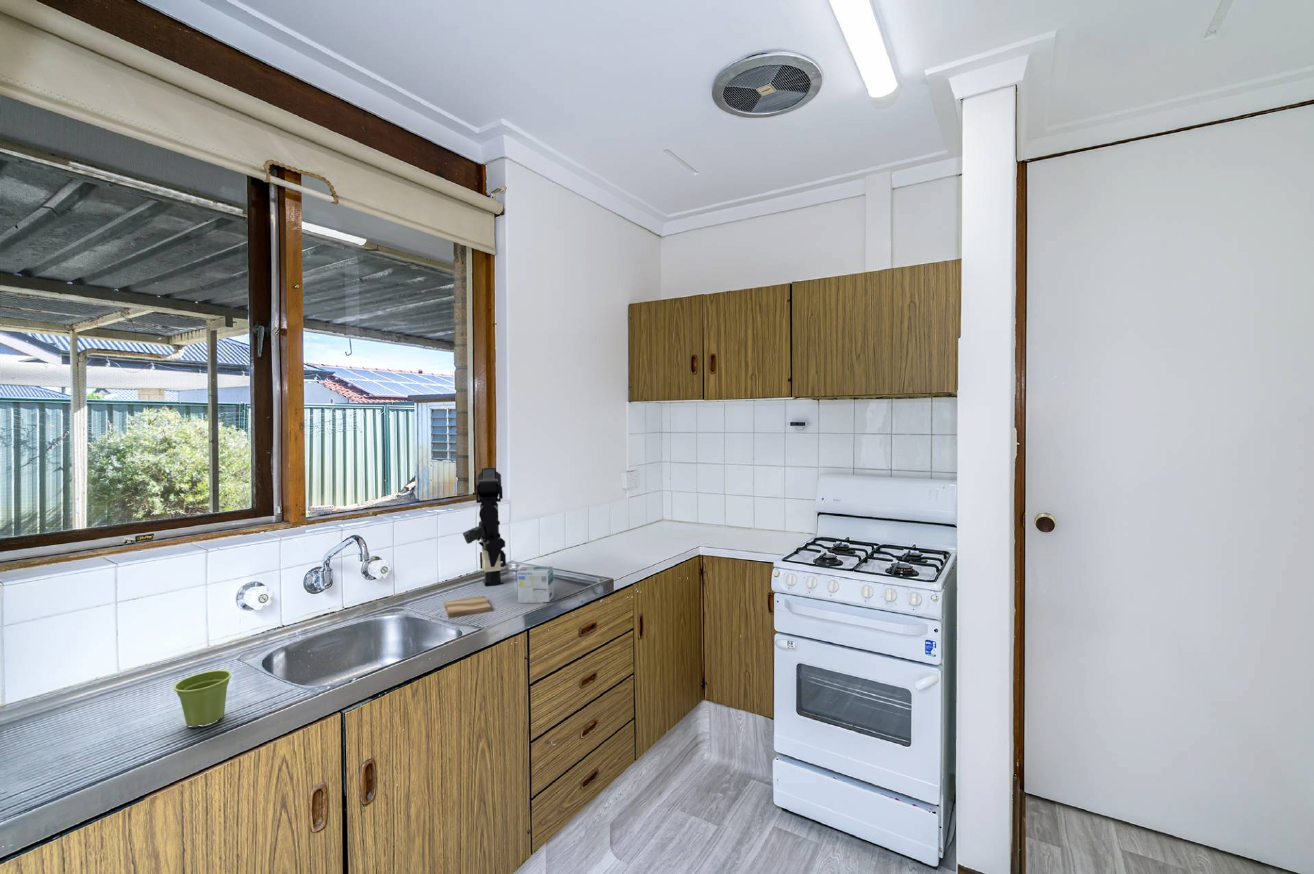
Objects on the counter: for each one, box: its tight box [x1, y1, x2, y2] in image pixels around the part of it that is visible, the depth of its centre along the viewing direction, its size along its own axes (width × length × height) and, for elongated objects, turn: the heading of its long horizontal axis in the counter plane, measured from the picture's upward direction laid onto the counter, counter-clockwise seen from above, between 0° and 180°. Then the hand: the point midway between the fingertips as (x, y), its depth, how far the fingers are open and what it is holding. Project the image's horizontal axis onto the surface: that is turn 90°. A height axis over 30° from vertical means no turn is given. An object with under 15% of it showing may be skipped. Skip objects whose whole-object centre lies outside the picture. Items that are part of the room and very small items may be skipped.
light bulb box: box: [516, 565, 555, 604], centre depth 196 cm, size 11×7×11 cm, turn 87°
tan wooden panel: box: [443, 595, 493, 619], centre depth 189 cm, size 13×13×2 cm
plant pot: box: [173, 669, 232, 726], centre depth 120 cm, size 9×9×9 cm
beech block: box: [481, 547, 502, 573], centre depth 195 cm, size 5×5×7 cm
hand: (491, 565), depth 195 cm, fingers closed on beech block, 5 cm apart
